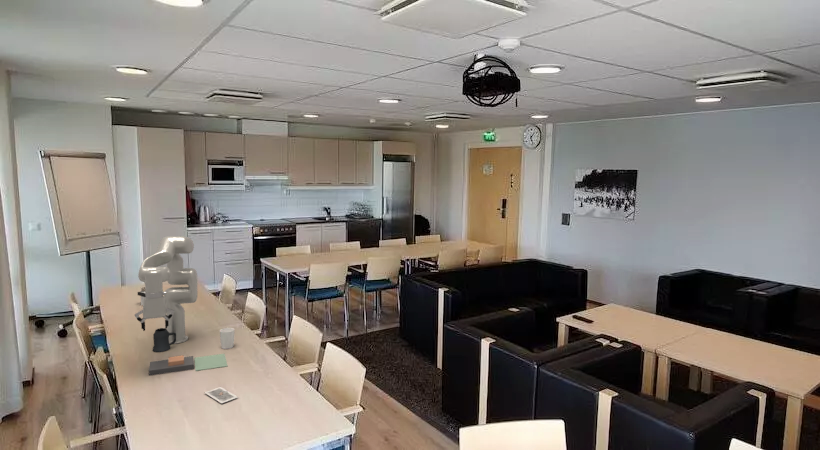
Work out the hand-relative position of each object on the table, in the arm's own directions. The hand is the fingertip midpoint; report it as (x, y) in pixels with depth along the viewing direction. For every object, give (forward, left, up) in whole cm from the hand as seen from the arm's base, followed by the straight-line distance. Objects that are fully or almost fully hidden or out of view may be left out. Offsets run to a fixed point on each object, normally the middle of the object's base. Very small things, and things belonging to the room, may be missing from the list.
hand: (155, 328), depth 235 cm
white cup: (-20, +35, -21) cm, 45 cm away
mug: (-30, +3, -21) cm, 37 cm away
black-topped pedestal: (-130, -9, -22) cm, 132 cm away
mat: (0, +25, -21) cm, 33 cm away
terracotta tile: (0, +9, -19) cm, 21 cm away
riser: (0, +7, -21) cm, 22 cm away
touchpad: (+42, +27, -22) cm, 54 cm away
